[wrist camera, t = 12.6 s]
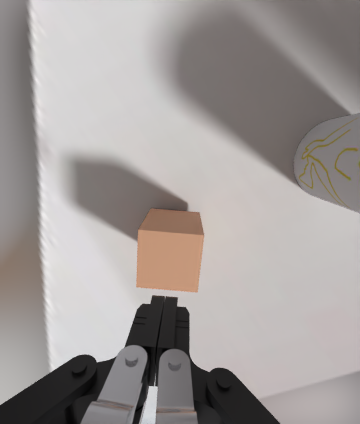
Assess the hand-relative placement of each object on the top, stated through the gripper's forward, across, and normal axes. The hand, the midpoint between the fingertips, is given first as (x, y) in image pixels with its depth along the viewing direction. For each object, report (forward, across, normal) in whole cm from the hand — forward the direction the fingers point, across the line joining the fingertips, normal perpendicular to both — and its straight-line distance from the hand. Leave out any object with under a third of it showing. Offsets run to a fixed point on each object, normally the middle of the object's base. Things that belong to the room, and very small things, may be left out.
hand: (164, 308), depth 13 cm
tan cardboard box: (+12, 0, 0) cm, 12 cm away
